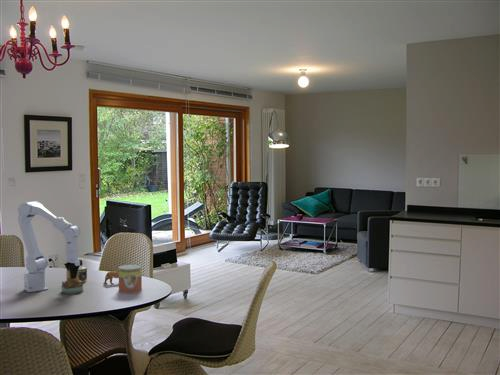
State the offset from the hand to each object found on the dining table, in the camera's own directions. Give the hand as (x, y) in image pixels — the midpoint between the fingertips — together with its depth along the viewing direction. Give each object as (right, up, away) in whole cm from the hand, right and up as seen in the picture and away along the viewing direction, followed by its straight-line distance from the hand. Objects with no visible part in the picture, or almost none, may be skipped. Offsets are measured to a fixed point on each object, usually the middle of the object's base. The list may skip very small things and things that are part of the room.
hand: (72, 277), depth 253 cm
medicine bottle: (-5, -6, +21) cm, 23 cm away
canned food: (+28, -7, +3) cm, 29 cm away
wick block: (0, -3, 0) cm, 3 cm away
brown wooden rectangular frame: (0, -4, 0) cm, 4 cm away
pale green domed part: (0, -7, 0) cm, 7 cm away
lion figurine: (+17, -6, +18) cm, 26 cm away
